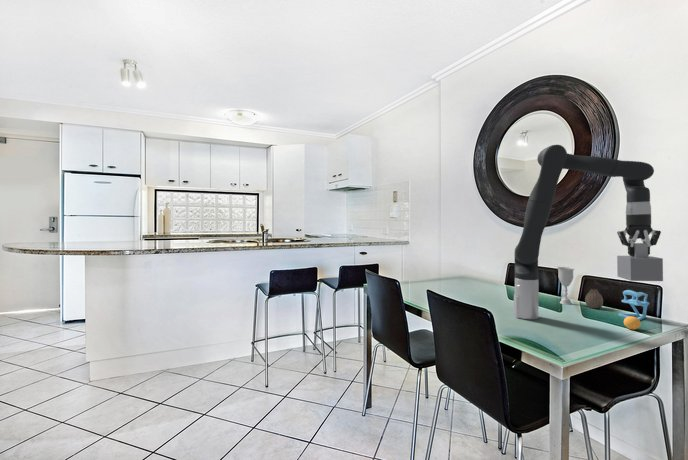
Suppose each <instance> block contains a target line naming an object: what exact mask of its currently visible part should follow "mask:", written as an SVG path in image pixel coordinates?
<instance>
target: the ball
mask: <svg viewBox="0 0 688 460" xmlns="http://www.w3.org/2000/svg"><path fill="white" fill-rule="evenodd" d="M623 324H624V326H625V327H626V328H627V329H629V330H637V329H638V330H639V328H640V327H641V326H642V323H641V320H639V319H638V317H637V316H628V317H626V318H625V317H624V319H623Z"/></svg>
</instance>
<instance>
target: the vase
mask: <svg viewBox="0 0 688 460" xmlns="http://www.w3.org/2000/svg"><path fill="white" fill-rule="evenodd" d="M584 301H585V304H586V306H587V307H588V308H590V309H594V308H599V309H600V308H602V306H603V305H604V299H603V295H602V294H601V293H599V291H598V289H595V288H591V289H590V290H589V292H587V294H585V298H584Z"/></svg>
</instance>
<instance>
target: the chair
mask: <svg viewBox="0 0 688 460" xmlns="http://www.w3.org/2000/svg"><path fill="white" fill-rule="evenodd" d="M622 295H623V296H624V297H623V299H621V303H624V304H628V305H630V307H631V308H632V309H633V311H634V313H618V316H619V317H620V318H621V317H622V318H624V319H625V318H626V317H628V316H633V317H637V318H638V319H639V320H640V321H641V320H644V319H646V318H647V311H648V307H649V305H650V302H648V300H647V299H648V295H649V294H647V293H645V292H642V291H639V292H638V291H637V292H636V291H635V290H631V289H626V290H623V291H622ZM627 296H631V298H630V299H628V298H627ZM643 296H644V298H643V300H639V298H640V297H643ZM636 306H638V307H639V306H640V307H642V315H641V314H640V312H639V311H638V309H637V307H636Z"/></svg>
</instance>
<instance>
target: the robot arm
mask: <svg viewBox="0 0 688 460" xmlns="http://www.w3.org/2000/svg"><path fill="white" fill-rule="evenodd" d="M536 158H537V162H538V164H539V166H540V172H539V174H538V175H539V176H538V178H537V181H536V182H535V185H534V187H533V188H532V190H531V192H530V194H529V198H528V200H527V204H526V208H525V213H524V217H523V218H524V220H523V229H522V232H521V236H520V239H519V242H518V244H517V245H516V246H515V248H514V293H513V315H514V316H515V318H516V319H524V320H539V316H540V315H539V312H540V311H539V304H540V303H539V255H540V248H541V242H542V236H543V234H544V233H543V232H544V230H545V228H546V225H547V223H548V220H549V217H550V214H551V210H552V208H553V204H554V200H555V196H556V191H557V187H558V182H559V179H560V176H561V173H562V172H563V171H562V170H570V171H571V170H572V171H579V172H583V173H589V174H595V175H599V176H604V177H610V178H611V177H612V178H616V177H617V178H622V181H623V182H622V183H623V186H624V189H625V191H626V207H625V221H626V222H625V225H626V227H625V229H623V230H618V231H617V233H616V234H617V236H618V239H619V241H620V243H621V245H622V246H626V247H627V254H628V256H634V244H635V243H637V240H638V239H640V240H641V243H646V244H648V256H651V255H650V254H651V247H653V246H657V243H658V241H659V239H660V236H661V233H662V231H661V230H655V229H653V228H652V204H651V192H650V188H649V187H646V185H645V181H646V180H648V179H650V178H651V177H652V176H653V175H654V172H655V169H654V167H653V166H652V165H651V164H650V163H647V162H645V161H639V160H638V161H636V160H620V159H615V158H611V157H603V156H591V155H577V154H572V153H571V154H570V153H568V152H567V150H566V148H565V146H563V145H561V144H552V145H550V146H549V145H548V146H547V147H545V148H543V149H542V150H541V151H540V152H539V153H538V155H537V157H536ZM650 234H651V237H650ZM626 235H628V238H627V237H626Z"/></svg>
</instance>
